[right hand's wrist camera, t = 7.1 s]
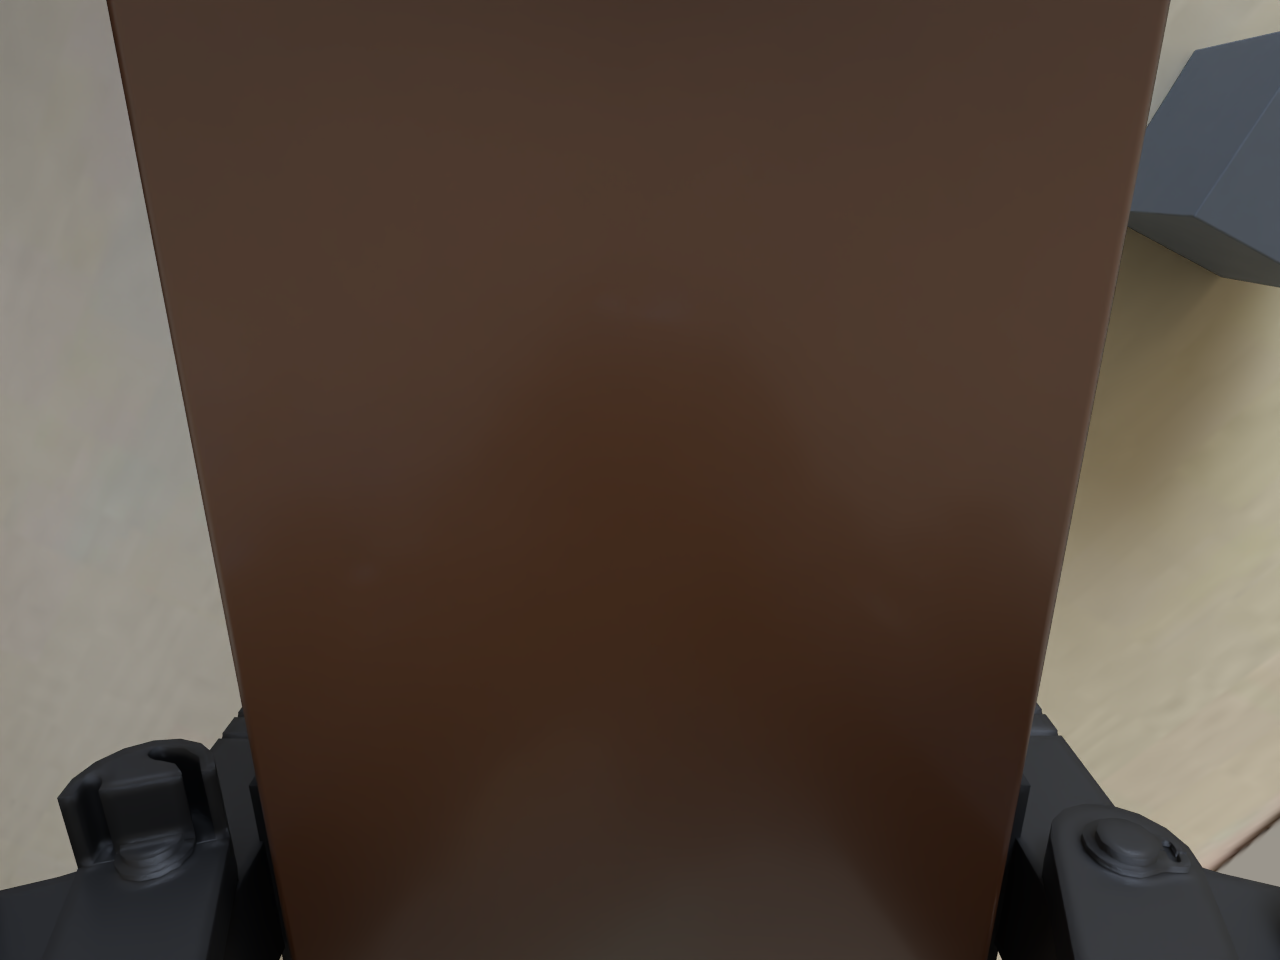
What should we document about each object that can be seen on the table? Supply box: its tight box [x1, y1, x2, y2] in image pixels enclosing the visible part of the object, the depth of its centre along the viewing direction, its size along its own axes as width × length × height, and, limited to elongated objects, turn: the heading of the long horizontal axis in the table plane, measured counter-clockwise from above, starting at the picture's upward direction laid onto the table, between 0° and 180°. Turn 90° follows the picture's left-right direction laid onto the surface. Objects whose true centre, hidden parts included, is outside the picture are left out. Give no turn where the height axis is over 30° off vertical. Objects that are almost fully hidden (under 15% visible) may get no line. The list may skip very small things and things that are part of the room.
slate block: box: [1127, 32, 1280, 287], centre depth 24 cm, size 5×5×5 cm
